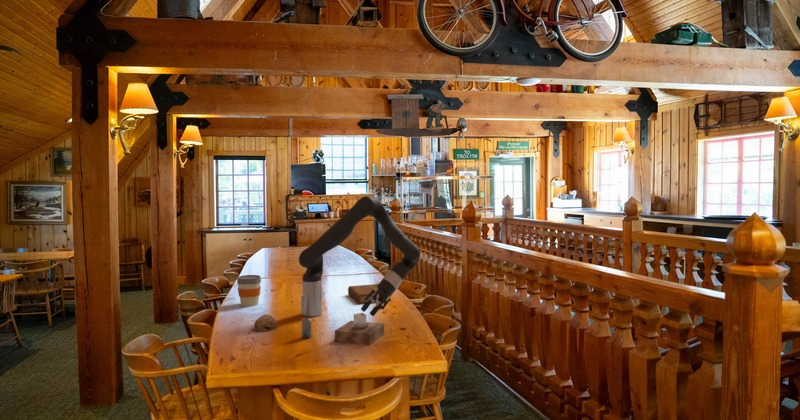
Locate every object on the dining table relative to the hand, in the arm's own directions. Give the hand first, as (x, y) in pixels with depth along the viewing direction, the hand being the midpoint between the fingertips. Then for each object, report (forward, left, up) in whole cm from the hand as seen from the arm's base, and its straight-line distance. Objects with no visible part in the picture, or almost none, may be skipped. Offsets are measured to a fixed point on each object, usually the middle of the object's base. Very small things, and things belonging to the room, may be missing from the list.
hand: (366, 312), depth 223 cm
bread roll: (-49, -3, -11) cm, 50 cm away
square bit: (-2, -2, -10) cm, 11 cm away
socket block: (-2, -2, -10) cm, 11 cm away
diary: (-27, +67, -11) cm, 73 cm away
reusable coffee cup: (-83, +33, -11) cm, 90 cm away
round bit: (-24, -9, -10) cm, 28 cm away
